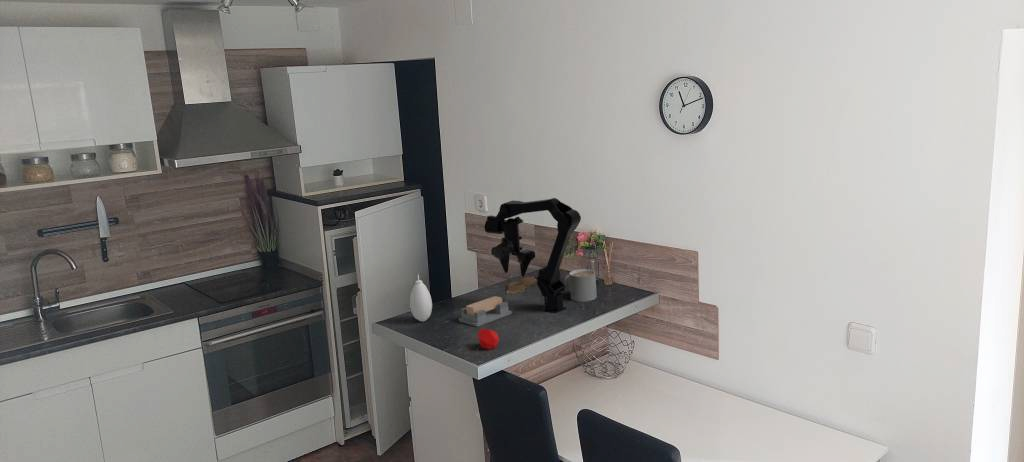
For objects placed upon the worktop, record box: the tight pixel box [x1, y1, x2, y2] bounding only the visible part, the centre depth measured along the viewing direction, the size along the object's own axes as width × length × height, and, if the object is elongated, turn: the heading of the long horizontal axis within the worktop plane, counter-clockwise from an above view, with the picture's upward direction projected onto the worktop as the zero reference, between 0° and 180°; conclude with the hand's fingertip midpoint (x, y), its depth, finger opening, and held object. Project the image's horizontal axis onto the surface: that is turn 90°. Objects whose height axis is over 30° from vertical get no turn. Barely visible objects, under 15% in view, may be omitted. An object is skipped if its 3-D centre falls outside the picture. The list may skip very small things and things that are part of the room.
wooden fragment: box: [506, 276, 538, 295], centre depth 308 cm, size 26×11×1 cm, turn 153°
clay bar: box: [465, 295, 503, 316], centre depth 269 cm, size 4×14×3 cm, turn 133°
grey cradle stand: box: [458, 301, 513, 328], centre depth 269 cm, size 10×17×4 cm, turn 133°
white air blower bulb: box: [409, 274, 433, 322], centre depth 269 cm, size 8×8×18 cm
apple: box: [477, 327, 500, 350], centre depth 240 cm, size 7×7×8 cm
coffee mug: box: [564, 268, 597, 303], centre depth 284 cm, size 13×10×10 cm
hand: (514, 274), depth 279 cm, fingers open, 9 cm apart
